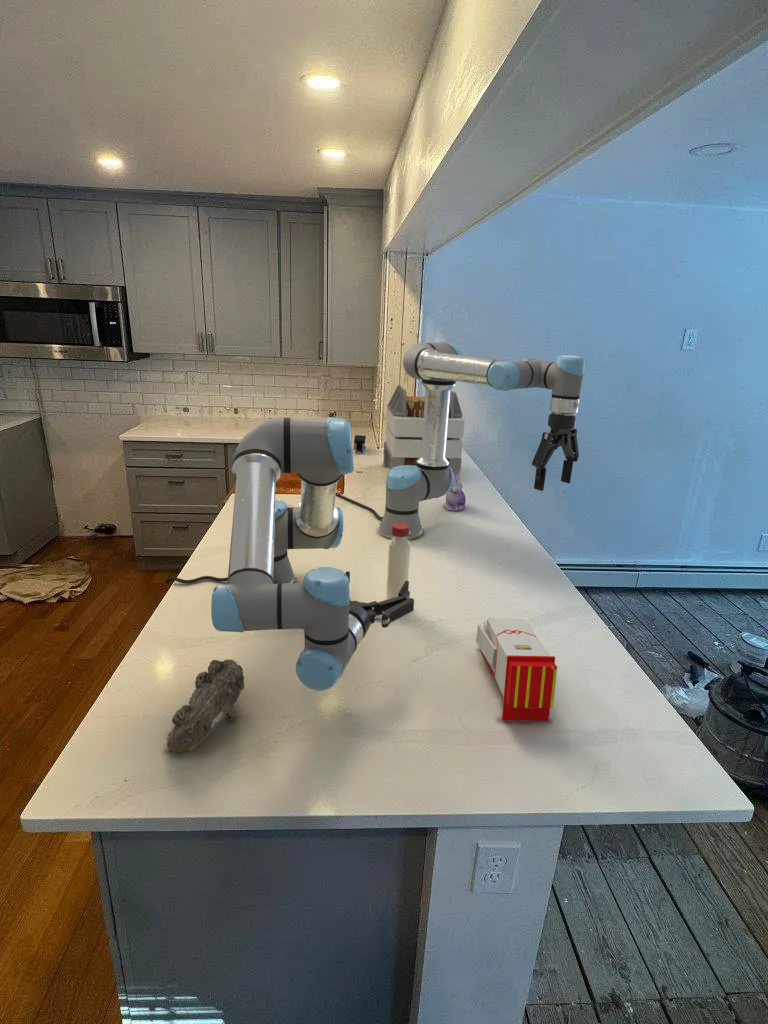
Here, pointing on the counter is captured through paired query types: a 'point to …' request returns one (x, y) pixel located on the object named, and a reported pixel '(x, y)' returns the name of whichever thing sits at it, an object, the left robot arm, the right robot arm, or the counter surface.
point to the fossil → (206, 705)
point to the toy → (519, 668)
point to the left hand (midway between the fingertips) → (377, 581)
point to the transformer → (418, 431)
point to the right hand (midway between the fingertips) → (552, 485)
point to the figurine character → (359, 443)
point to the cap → (400, 530)
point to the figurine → (455, 495)
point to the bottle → (397, 565)
